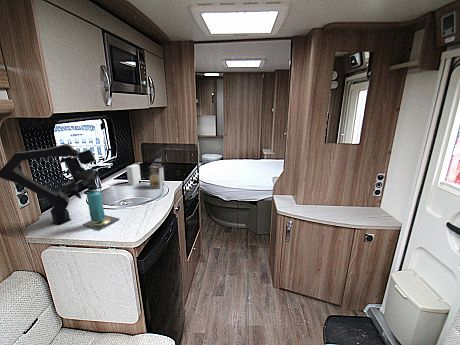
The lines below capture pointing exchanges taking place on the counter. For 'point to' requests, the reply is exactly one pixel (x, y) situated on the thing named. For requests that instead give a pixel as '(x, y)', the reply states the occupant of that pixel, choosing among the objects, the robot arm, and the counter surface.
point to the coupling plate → (101, 223)
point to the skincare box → (133, 174)
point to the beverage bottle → (95, 204)
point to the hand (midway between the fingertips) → (87, 194)
